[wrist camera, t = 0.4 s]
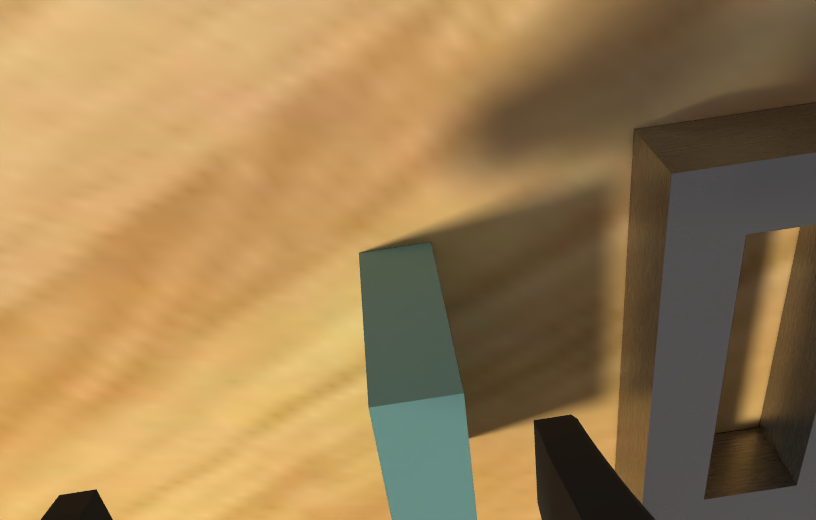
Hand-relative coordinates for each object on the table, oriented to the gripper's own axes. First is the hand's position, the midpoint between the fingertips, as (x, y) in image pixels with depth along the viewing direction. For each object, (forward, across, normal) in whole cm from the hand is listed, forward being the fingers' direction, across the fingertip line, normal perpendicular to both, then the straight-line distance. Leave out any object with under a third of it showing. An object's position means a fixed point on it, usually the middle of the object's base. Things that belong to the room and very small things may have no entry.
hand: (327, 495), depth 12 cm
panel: (+9, -2, +5) cm, 10 cm away
